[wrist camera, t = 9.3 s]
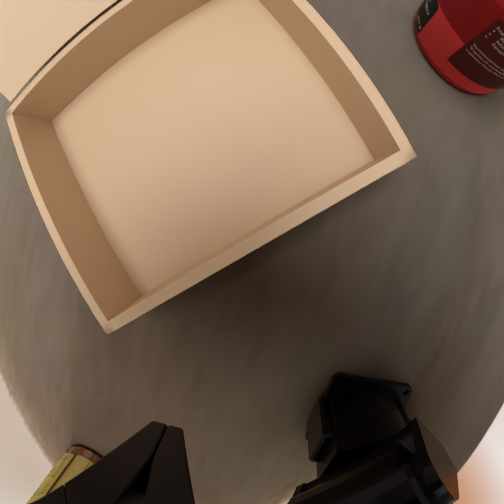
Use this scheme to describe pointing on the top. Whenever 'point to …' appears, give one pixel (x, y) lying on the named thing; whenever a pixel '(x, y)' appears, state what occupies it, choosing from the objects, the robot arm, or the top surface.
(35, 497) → the sauce bottle
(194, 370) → the top surface
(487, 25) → the canned food
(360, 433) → the robot arm
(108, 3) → the carton flap
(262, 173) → the carton
